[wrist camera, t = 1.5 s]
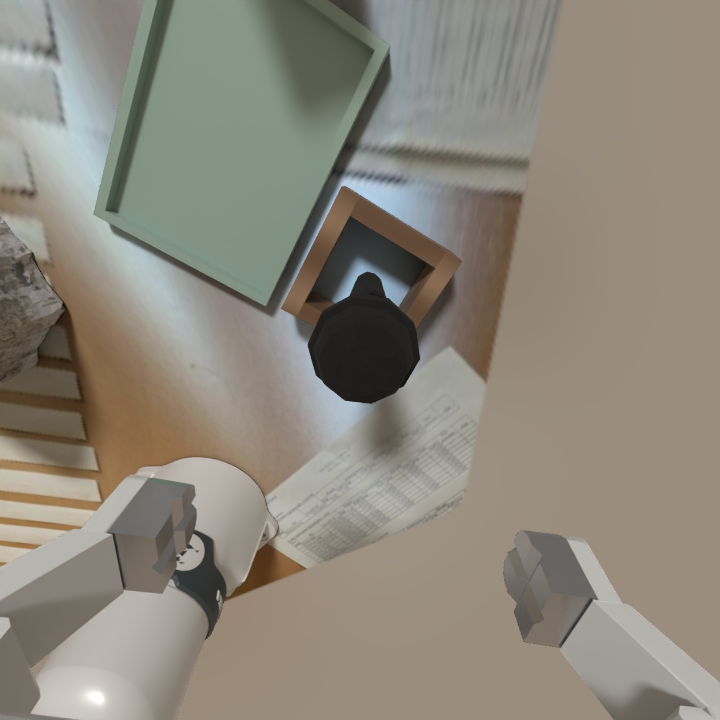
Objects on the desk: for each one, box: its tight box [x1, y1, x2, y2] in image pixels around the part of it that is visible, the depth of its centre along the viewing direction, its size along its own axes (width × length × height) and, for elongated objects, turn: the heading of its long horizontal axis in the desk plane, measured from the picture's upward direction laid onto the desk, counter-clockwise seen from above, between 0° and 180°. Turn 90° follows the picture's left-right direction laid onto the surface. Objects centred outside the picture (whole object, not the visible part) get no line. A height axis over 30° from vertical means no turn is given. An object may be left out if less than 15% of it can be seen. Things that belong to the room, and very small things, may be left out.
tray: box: [93, 0, 390, 306], centre depth 30 cm, size 22×16×2 cm
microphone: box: [308, 272, 420, 404], centre depth 26 cm, size 6×6×20 cm
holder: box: [281, 186, 462, 328], centre depth 33 cm, size 11×11×4 cm
